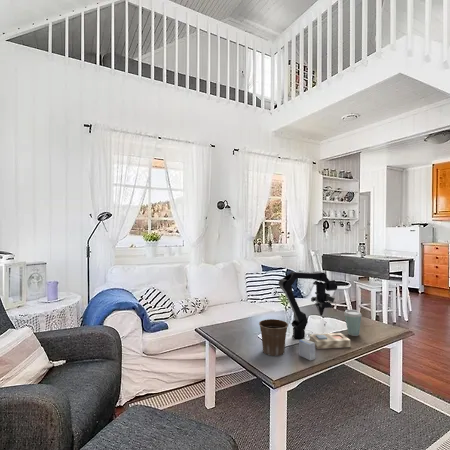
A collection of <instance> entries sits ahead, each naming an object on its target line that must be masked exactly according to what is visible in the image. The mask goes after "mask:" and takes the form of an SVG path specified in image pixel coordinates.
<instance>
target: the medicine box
mask: <svg viewBox="0 0 450 450" xmlns="http://www.w3.org/2000/svg"><path fill="white" fill-rule="evenodd" d="M298 356H299V357H302V358H304V359H306V360H309V361H313V360H315V359H316V347H315V343H314V342H312V341H310V339H306V338H305V339H300V340H298Z"/></svg>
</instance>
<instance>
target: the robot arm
mask: <svg viewBox="0 0 450 450" xmlns="http://www.w3.org/2000/svg"><path fill="white" fill-rule="evenodd" d="M297 279H301V280H302V279H306V280H313V281H314V280H315V281H314V282H312V284H313V285H315V286H316V287H315V292H314V294H315V296H312V297H311V298H310V299H311V300H310V301H311V302H312V303H314V302H315V303H314V305H315V308H316V309H317V312H318V313H319V314H318V315H320V316H323V314H324V311H325V309H331V308H332V305H333V304H332V303H334V301H335V297H333V296H331V295H330V293H327V292H331V291H337V290H338V285H337V282H336V280H335V279H329V278H328V276H327V273H326V272H322V271H319V270H317V271H312V272H305V271H304V272H303V271H302V272H300V271H291V272H290V273H288V274H287V275H286V276H284V277H283V278H281V279H279V281H278V287H279V288H280V290H281V291H282V292H283V294H284V295H285V297H286V299H287V301H288V303H289V305H290V308H291V310H292V312H293V318H294V320H293V321H292V322H291V323H290V324H291V327H292V335H291V337H292V338H293V339H294V340H295V341H296V340H297V341H299V340H301V339H306V338H305V337H306V331H305V330H306V328H307V325H308V320H309V319H308V317H307V315H306V313H304V311H302V310H301V309H300V307H299V305H298V302H297V300H296V298H295V295H294V293H293V286H292V285H294V284H295V282H296V280H297ZM326 291H327V292H326Z"/></svg>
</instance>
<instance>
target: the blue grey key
mask: <svg viewBox="0 0 450 450" xmlns="http://www.w3.org/2000/svg"><path fill="white" fill-rule="evenodd" d="M316 338H318V339H319V340H321V339H327V337H326V336H325V335H316Z"/></svg>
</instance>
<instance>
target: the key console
mask: <svg viewBox="0 0 450 450" xmlns="http://www.w3.org/2000/svg"><path fill="white" fill-rule="evenodd" d="M316 335H325V336H326V337H327V339H321V340H319V339H318V338H316ZM332 336H340V337H341V338H340V339H335V338H334V337H332ZM309 341H312V342H314V343H315V349H317V350H319V349H338V348H339V349H340V348H351V339H350V338H348V337H347V336H345V334H343V333H341V332H334V333H314V334H313V333H312V334H309Z"/></svg>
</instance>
